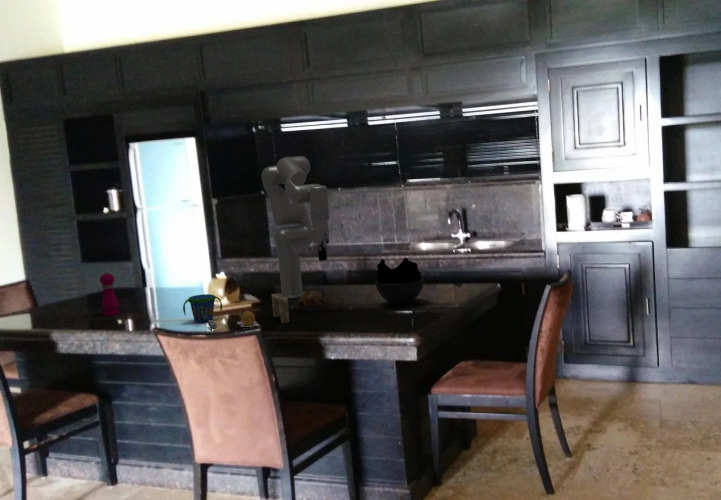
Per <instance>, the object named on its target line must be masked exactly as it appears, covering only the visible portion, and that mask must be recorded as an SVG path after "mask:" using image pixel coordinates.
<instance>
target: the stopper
mask: <svg viewBox="0 0 721 500" xmlns="http://www.w3.org/2000/svg"><path fill="white" fill-rule="evenodd" d="M207 324H208V325H209V326H210V328H211V329H216V328H217V329H218V325H217V323H216V321H215V320H214V319H213V320H208V321H207ZM209 326H208V327H209ZM210 328H209V329H210ZM211 329H210V330H211Z"/></svg>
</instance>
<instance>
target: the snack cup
mask: <svg viewBox="0 0 721 500" xmlns="http://www.w3.org/2000/svg"><path fill="white" fill-rule="evenodd" d="M216 299H217V300H218V301H219V303H220V307H219V308H220V309H219V311H222V310H223V303H222V300H221V299H220V298H219V297H218V296H216V295H215V294H210V293H208V294H207V293H206V294H196V295H192V296H189V297H188V299H186V300H185V301H184V302H183V306H182V311H183V314H184V316H187V314H186V304H187V303H188V302H189V304H190V309H191V312H192V316H193V320H194V322H195V321H197V322H196V323H199V322H202V323H206V322H205V321H207V322H208V320H212V319H213V320H214V314H215V313H214V311H215V308H214V307H215V302H216Z"/></svg>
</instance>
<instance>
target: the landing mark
mask: <svg viewBox="0 0 721 500" xmlns="http://www.w3.org/2000/svg"><path fill="white" fill-rule="evenodd" d="M237 324H239V325H240V324H241V325H240V326H241V327H250V328H255V327H254V326H257V327H261V325H260V324H259V323H258V322H257V321H256V320H255V321H254V323H253V324H251V325H244V324H243V323H242V321H241V320H240V321H237ZM252 326H253V327H252Z"/></svg>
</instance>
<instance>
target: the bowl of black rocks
mask: <svg viewBox="0 0 721 500" xmlns="http://www.w3.org/2000/svg"><path fill="white" fill-rule="evenodd" d="M418 267H419V264H417V263H416V262H414V261H412V260H409V259H408V257H404V258H403V259H402V261H401V262H400V263H399V264H398V265H397V266H396V267H394V268H390V266H389V265H387V264H386V261H385V259H384V258H382V259H381V260H380V261H379V263H377V265H376V268H377V272H376V273H377V274H376V280H375V282H374V283H375V286H376V289H377V291H378V294H379V296H381V297H382V298H383V299H384V300H385V301H387V302H389V303H392V304H395V305H406V304H409V303H410V302H412V301H414V300H415V299H416V298H418V297H419V295H420V294H421V292H422V289H423V287H424V284H425V280H424V279H425V277H423V276H422V273H421V271H419V268H418Z"/></svg>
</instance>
